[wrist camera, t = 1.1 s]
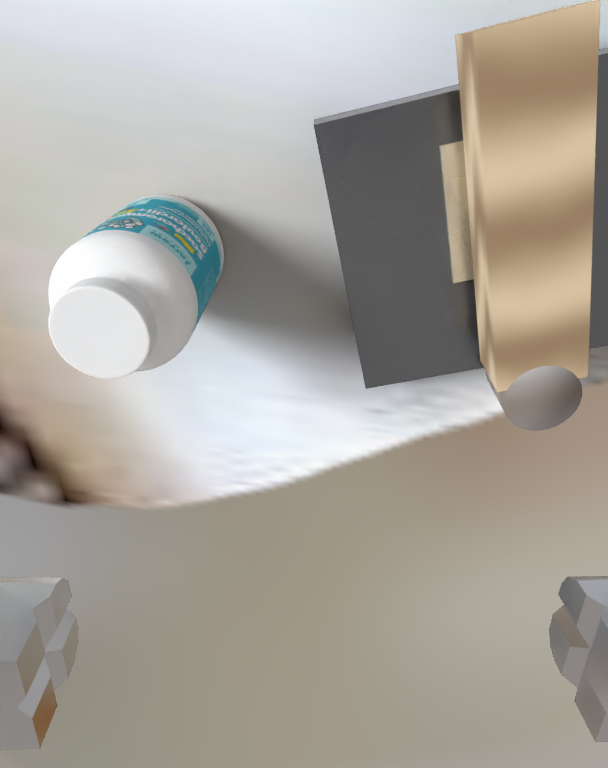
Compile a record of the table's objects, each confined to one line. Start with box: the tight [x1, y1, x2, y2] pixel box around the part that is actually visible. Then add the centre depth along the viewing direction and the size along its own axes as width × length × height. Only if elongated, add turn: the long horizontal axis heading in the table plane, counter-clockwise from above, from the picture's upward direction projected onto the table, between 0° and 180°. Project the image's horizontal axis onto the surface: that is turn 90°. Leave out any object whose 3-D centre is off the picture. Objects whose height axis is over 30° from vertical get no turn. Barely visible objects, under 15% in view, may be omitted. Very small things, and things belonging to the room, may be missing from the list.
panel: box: [314, 48, 608, 388], centre depth 34 cm, size 20×18×4 cm
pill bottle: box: [48, 194, 224, 379], centre depth 31 cm, size 8×7×14 cm
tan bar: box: [455, 0, 600, 430], centre depth 30 cm, size 21×5×4 cm, turn 13°
